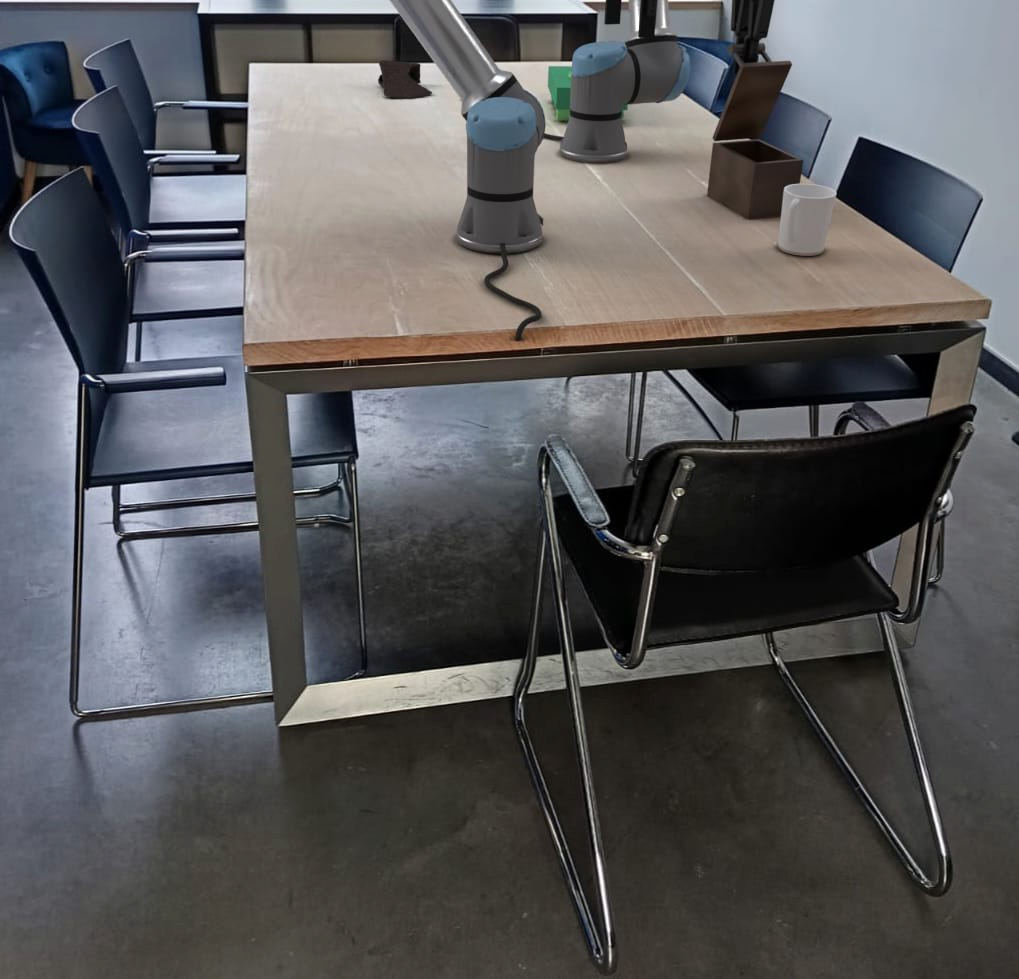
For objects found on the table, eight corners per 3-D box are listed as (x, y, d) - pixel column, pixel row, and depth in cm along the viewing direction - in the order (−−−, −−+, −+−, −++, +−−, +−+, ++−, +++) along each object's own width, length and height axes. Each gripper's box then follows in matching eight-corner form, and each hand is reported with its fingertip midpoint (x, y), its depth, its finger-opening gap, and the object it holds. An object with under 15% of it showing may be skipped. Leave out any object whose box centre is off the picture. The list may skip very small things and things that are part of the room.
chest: (795, 214, 212) (803, 159, 207) (747, 219, 209) (755, 164, 204) (752, 191, 225) (759, 139, 220) (706, 195, 222) (712, 142, 217)
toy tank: (612, 47, 295) (630, 72, 266) (608, 94, 302) (626, 124, 272) (547, 45, 295) (557, 71, 265) (545, 93, 301) (555, 123, 271)
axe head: (443, 87, 294) (392, 77, 287) (436, 115, 299) (385, 106, 292) (421, 62, 307) (371, 52, 300) (414, 89, 311) (365, 80, 304)
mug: (789, 236, 200) (798, 180, 195) (834, 247, 195) (845, 190, 190) (760, 251, 193) (769, 193, 188) (807, 263, 188) (817, 204, 183)
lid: (792, 64, 205) (772, 34, 210) (743, 66, 202) (724, 36, 207) (760, 137, 219) (742, 108, 224) (714, 141, 216) (696, 111, 221)
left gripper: (696, -106, 168) (682, 41, 179) (626, -115, 187) (617, 18, 199) (652, -106, 165) (640, 43, 176) (586, -116, 185) (579, 19, 196)
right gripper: (800, -58, 195) (781, 81, 207) (756, -65, 207) (740, 66, 219) (764, -57, 193) (746, 83, 205) (721, -65, 205) (707, 68, 217)
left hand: (628, 30), depth 187 cm, fingers open, 13 cm apart
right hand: (743, 74), depth 212 cm, fingers closed on lid, 2 cm apart
